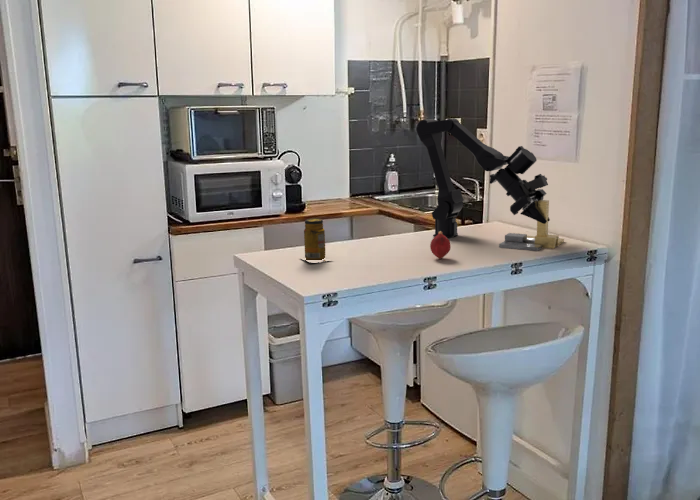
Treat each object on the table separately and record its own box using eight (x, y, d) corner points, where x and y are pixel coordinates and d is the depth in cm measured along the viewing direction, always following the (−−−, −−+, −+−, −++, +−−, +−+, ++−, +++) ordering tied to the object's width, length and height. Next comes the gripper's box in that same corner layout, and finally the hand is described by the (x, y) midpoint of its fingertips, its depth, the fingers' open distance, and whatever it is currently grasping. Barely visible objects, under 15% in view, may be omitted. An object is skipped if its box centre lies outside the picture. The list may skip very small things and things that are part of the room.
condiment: (321, 256, 199) (320, 216, 197) (333, 261, 192) (331, 221, 189) (299, 259, 196) (297, 219, 194) (310, 265, 189) (308, 223, 186)
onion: (451, 260, 188) (451, 233, 186) (431, 261, 188) (431, 233, 187) (449, 256, 194) (449, 229, 192) (429, 256, 194) (429, 229, 192)
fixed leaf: (499, 247, 203) (499, 238, 202) (509, 241, 210) (509, 232, 210) (548, 251, 195) (548, 242, 194) (556, 245, 203) (557, 236, 202)
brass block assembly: (515, 245, 205) (516, 200, 202) (526, 238, 214) (527, 195, 211) (554, 248, 199) (556, 202, 196) (563, 241, 207) (565, 197, 204)
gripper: (521, 169, 192) (558, 209, 189) (540, 163, 207) (575, 200, 204) (495, 195, 198) (530, 234, 194) (515, 187, 213) (548, 223, 210)
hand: (547, 222), depth 200 cm, fingers closed on brass block assembly, 3 cm apart
